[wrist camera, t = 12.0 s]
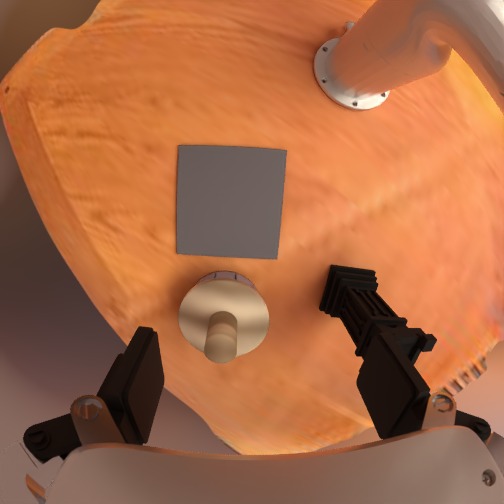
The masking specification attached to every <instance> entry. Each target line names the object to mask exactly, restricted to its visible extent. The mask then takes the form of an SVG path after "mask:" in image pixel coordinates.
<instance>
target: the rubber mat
mask: <svg viewBox="0 0 504 504" xmlns="http://www.w3.org/2000/svg"><path fill="white" fill-rule="evenodd" d="M286 155H287V150H278V149H266V148H253V147H236V146H207V145H179V155H178V179H177V254H184V255H202V256H220V257H239V258H259V259H277V256H278V246H279V236H280V226H281V215H282V204H283V192H284V180H285V168H286Z"/></svg>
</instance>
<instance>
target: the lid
mask: <svg viewBox="0 0 504 504" xmlns="http://www.w3.org/2000/svg"><path fill="white" fill-rule="evenodd" d="M178 322H179V326H180V330H181V332H182V334H183V335H184V337H185V338H186V340H187V341H188V342H189V343H190V344H191V345H192V346H194V347H195V348H196V349H198V350H200V351H201V352H203V353H205V355H206V357H207V358H208V359H209V360H211V361H213V362H215V363H228V362H230V361H232V360H233V359H234V358H235V357H236V356H240V355H243V354H246V353H248V352H250V351H252V350H253V349H255V348H256V347H257V346H258V345H259V344H260V343H261V342H262V341H263V339H264V338H265V336H266V334H267V332H268V328H269V314H268V309H267V305H266V303H265V301H264V299H263V298H262V296H261V295H260V294H259V293H258V292H257V291H256V290H255V289H254V288H252V287H251V286H249V285H248V284H246V283H244V282H242V281H239V280H235V279H231V278H213V279H209V280H205V281H203V282H200V283H199V284H197V285H195V286H194V287H193V288H191V289H190V290H189V291H188V292H187V294H186V295H185V297H184V298H183V300H182V303H181V305H180V308H179V313H178Z"/></svg>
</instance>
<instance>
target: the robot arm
mask: <svg viewBox="0 0 504 504" xmlns="http://www.w3.org/2000/svg"><path fill="white" fill-rule="evenodd" d="M346 30H347V32H345V34H344V35H343V36H342V37H338V38H334V39H331V40H329V41H327V42H325V43H324V44H323V45H322V46H321V47H320V48H319V49H318V51H317V53H316V55H315V58H314V73H315V77H316V79H317V82H318V84H319V85H320V87H321V89H322V90H323V91H324V92H325V93H326V95H327V96H328V97H330V98H331V99H332V100H333V101H335V102H336V103H338V104H339V105H341V106H343V107H346V108H348V109H352V110H360V111H363V110H369V109H373V108H375V107H377V106H379V105H380V104H382V103H383V102H384V101H385V100H386V98H387V97H388V94H389V92H390V90H392V89H395V88H397V87H400V86H402V85H405V84H407V83H410V82H413V81H415V80H418V79H421V78H424V77H427V76H429V75H432V74H435V73H437V72H438V71H440V70H441V69H442V68H443V67H444V66H445V65H446V64H447V62H448V60H449V58H450V55H451V51H452V48H453V49H454V50H455V51H456V52H457V53H458V54H459V55H460V56H461V58H462V59H463V60H464V61H465V62H466V63H467V64H468V65H469V66H470V68H471V69H472V70H473V72H474V73H475V74H476V76H477V77H478V78H479V80H480V81H481V82H482V84H483V85H484V86H485V88H486V89H487V91H488V92H489V94H490V95H491V97H492V98H493V99H494V101H495V102H496V104H497V105H498V107H499V108H500V110H501V111H502V113H503V114H504V0H377V1H376V2H375V3H374V4H373V5H372V6H371V7H370V8H369V9H368V11H367V12H366V13H365V14H364V15H363V16H362V17H361V18H360V19H359V20H358V21H357V22H356V23H355V24H354V23H353V22H347V23H346ZM323 50H324V51H323ZM322 81H324V82H325V83H323V82H322ZM381 95H382V96H381ZM352 103H353V104H354V106H353V105H352ZM163 386H164V373H163V367H162V361H161V355H160V348H159V341H158V334H157V332H155V331H153V328H150V327H141V326H139V327H138V329H137V330H136V332H135V334H134V336H133V338H132V340H131V341H130V343H129V345H128V347H127V349H126V351H125V353H124V354H119V355H118V356H117V358H116V359H115V361H114V363H113V365H112V367H111V369H110V371H109V372H108V374H107V376H106V378H105V380H104V382H103V384H102V385H101V387H100V390H99V391H98V393H97V395H96V396H94V395H83V396H81V397H79V398H77V399H75V400H74V401H73V403H72V404H71V407H70V413H69V414H66V415H64V416H61V417H57V418H54V419H51V420H48V421H45V422H42V423H39V424H35V425H33V426H31V427H29V428H28V429H27V430H26V432H25V433H24V437H23V441H22V442H21V443H19V441H16V442H15V443H13V444H12V445H10V446H9V447H7V448H6V449H4V450H2V451H1V452H0V498H1V499H2V501H3V502H4V504H504V438H503V437H502V436H500V435H499V434H497V433H495V432H493V433H492V434H491V428H490V425H489V424H488V423H487V422H486V421H485V420H484V419H481V418H479V417H475V416H473V415H470V414H467V413H464V412H461V411H458V410H456V402H455V400H454V399H453V398H452V397H451V396H450V395H449V394H446V393H444V392H436V393H433V394H432V395H430V393H429V392H430V388H429V387H428V385H427V384H426V382H425V381H424V379H423V378H422V377H421V375H420V374H419V372H418V371H417V369H416V368H415V367H414V365H413V364H412V362H411V361H410V360H409V358H408V357H407V356H406V354H405V353H404V351H403V350H402V349H401V347H400V346H399V345H398V343H397V342H396V341H395V339H394V338H393V337H392V335H391V334H390V333H388V332H386V333H377V334H376V335H375V336H374V337H373V338H372V340H371V343H370V346H369V349H368V351H367V354H366V357H365V360H364V362H363V365H362V367H361V370H360V373H359V375H358V378H357V387H358V389H359V392H360V394H361V396H362V398H363V401H364V403H365V405H366V407H367V410H368V412H369V414H370V416H371V419H372V421H373V423H374V426H375V428H376V430H377V433H378V435H379V437H380V438H381V439H383V440H380V441H376V442H372V443H366V444H362V445H357V446H351V447H345V448H339V449H333V450H325V451H317V452H307V453H296V454H279V455H225V454H207V453H197V452H187V451H178V450H170V449H163V448H157V447H150V446H143V443H145V444H146V443H147V442H148V438H149V435H150V431H151V427H152V423H153V420H154V416H155V413H156V409H157V406H158V403H159V399H160V395H161V392H162V389H163ZM52 480H54V481H53V482H52ZM51 484H52V485H51ZM50 485H51V488H50V491H49V494H48V496H47V499H45V490H46V489H47V488H48V486H50Z"/></svg>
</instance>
